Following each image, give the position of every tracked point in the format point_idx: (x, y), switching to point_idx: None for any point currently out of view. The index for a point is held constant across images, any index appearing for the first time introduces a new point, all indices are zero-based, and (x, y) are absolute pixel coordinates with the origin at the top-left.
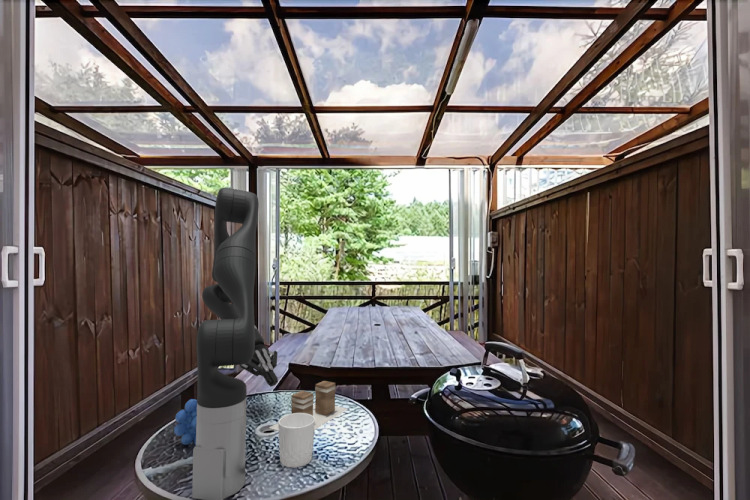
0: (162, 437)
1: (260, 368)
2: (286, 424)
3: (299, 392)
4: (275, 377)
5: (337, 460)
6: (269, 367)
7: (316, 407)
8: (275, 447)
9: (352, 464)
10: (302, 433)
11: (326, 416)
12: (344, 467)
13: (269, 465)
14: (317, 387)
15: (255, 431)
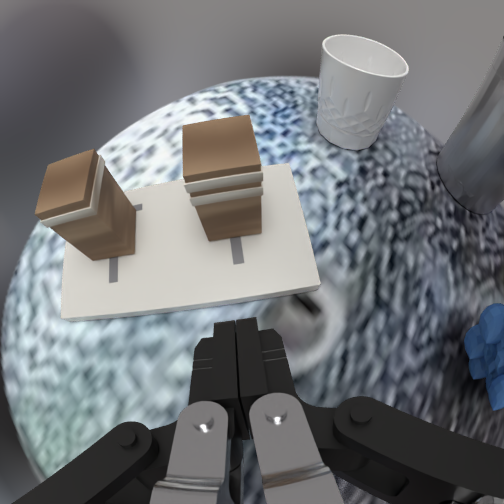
0: None
1: (370, 417)
2: (374, 91)
3: (209, 165)
4: (220, 341)
5: (276, 95)
6: (222, 431)
7: (127, 240)
8: (345, 207)
9: (267, 79)
10: (366, 50)
11: (139, 208)
12: (283, 81)
13: (388, 162)
14: (90, 197)
15: (338, 338)
